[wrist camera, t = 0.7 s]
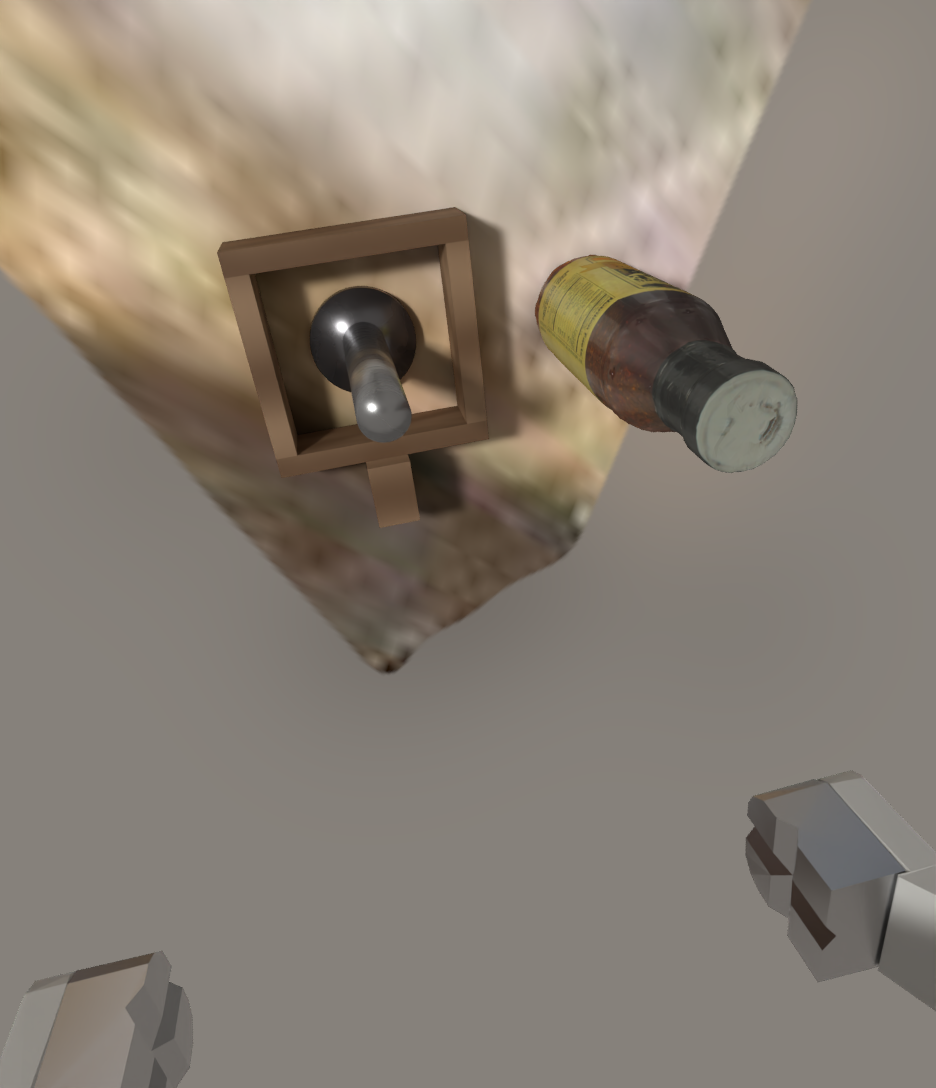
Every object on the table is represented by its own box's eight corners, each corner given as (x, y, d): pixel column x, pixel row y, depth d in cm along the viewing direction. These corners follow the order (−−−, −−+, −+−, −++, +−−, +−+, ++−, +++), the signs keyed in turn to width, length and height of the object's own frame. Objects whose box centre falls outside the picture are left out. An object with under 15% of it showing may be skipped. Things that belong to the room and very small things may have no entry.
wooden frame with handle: (222, 242, 37) (215, 256, 34) (455, 207, 38) (470, 217, 35) (298, 512, 46) (298, 544, 43) (484, 475, 47) (498, 504, 44)
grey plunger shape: (298, 295, 39) (299, 362, 29) (406, 278, 40) (442, 337, 30) (322, 398, 42) (330, 490, 32) (421, 380, 43) (459, 465, 33)
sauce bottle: (648, 306, 43) (863, 432, 27) (569, 377, 45) (728, 538, 28) (587, 221, 40) (791, 305, 24) (505, 300, 41) (642, 432, 25)
